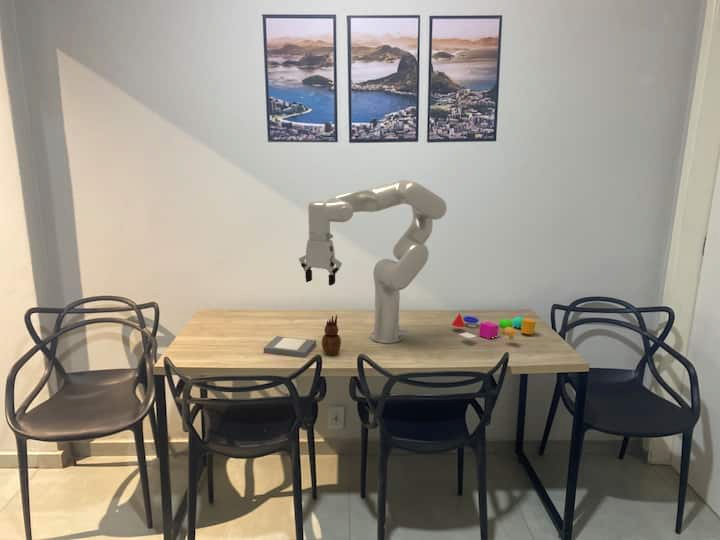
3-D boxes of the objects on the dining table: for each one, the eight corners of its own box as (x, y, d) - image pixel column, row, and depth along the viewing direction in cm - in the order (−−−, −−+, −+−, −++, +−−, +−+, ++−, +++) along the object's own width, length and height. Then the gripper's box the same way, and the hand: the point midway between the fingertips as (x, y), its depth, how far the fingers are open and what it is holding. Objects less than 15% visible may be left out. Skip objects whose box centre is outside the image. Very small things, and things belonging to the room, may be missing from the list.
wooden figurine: (343, 352, 192) (343, 313, 188) (336, 358, 187) (336, 318, 183) (327, 349, 195) (326, 311, 191) (319, 355, 190) (319, 315, 186)
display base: (316, 345, 198) (316, 339, 198) (305, 357, 187) (305, 352, 186) (277, 340, 202) (276, 335, 202) (263, 352, 191) (263, 347, 190)
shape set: (546, 339, 212) (549, 321, 210) (493, 353, 190) (496, 334, 188) (487, 319, 234) (489, 304, 233) (434, 330, 212) (436, 313, 211)
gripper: (346, 236, 185) (346, 283, 189) (304, 232, 192) (306, 277, 197) (335, 240, 178) (335, 288, 183) (293, 236, 186) (294, 282, 190)
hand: (320, 282), depth 190 cm, fingers open, 9 cm apart
